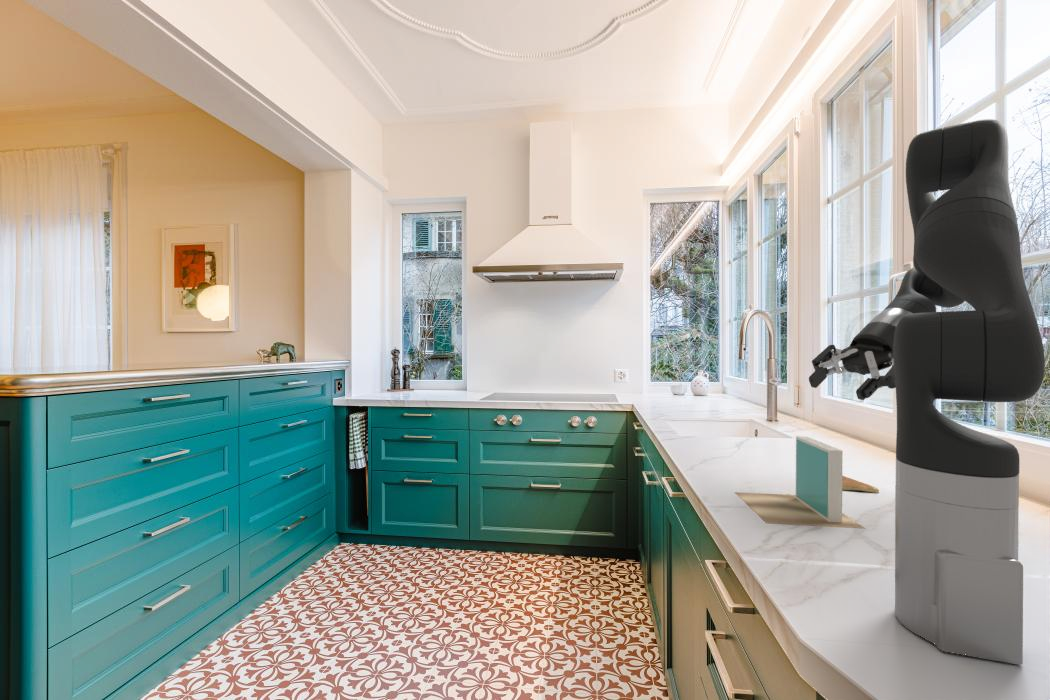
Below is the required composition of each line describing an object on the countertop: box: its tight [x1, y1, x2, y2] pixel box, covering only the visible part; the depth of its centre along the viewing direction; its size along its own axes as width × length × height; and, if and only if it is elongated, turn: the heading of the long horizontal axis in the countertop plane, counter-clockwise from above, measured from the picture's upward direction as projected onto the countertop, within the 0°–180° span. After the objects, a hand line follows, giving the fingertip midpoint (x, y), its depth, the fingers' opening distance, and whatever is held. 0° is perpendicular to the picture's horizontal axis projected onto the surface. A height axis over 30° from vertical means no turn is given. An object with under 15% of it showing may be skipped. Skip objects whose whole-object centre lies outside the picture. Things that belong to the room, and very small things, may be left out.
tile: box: [795, 436, 843, 523], centre depth 81 cm, size 12×2×12 cm, turn 172°
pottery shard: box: [842, 475, 880, 494], centre depth 94 cm, size 10×9×2 cm
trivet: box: [734, 491, 865, 529], centre depth 81 cm, size 16×15×1 cm
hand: (834, 390), depth 82 cm, fingers open, 8 cm apart
